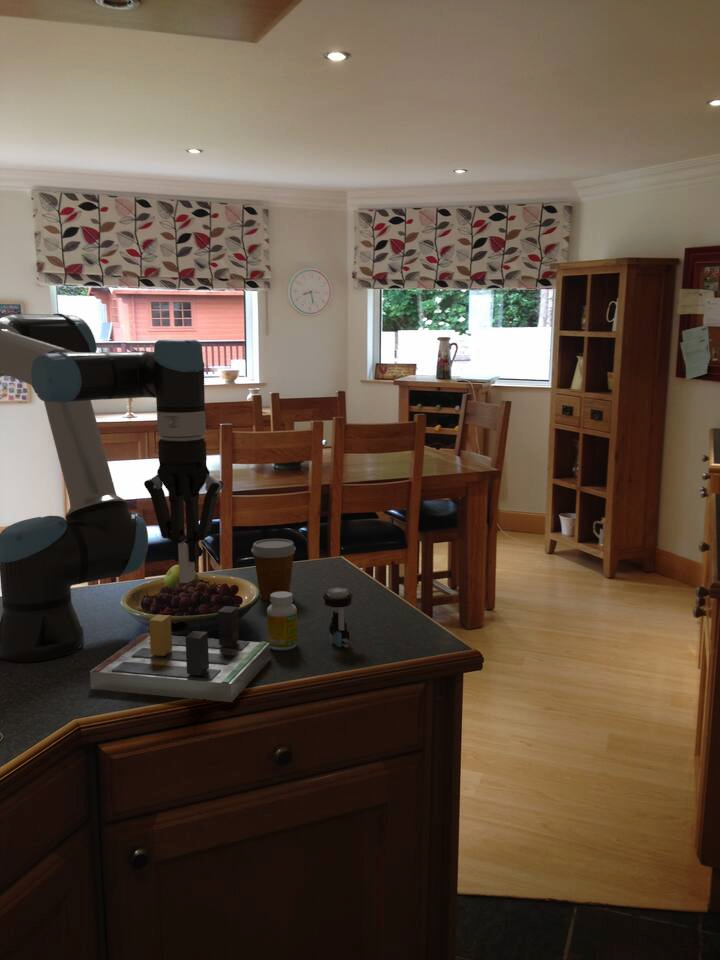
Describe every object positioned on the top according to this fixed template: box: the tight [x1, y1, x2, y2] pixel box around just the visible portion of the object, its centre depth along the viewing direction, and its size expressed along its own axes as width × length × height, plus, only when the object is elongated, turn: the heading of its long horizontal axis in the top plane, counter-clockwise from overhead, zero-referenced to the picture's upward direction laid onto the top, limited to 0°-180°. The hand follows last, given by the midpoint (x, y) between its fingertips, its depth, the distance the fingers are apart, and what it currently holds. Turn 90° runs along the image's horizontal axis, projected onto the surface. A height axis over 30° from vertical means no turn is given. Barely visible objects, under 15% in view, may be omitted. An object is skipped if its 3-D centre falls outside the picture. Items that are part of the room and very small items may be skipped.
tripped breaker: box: [148, 614, 173, 656], centre depth 141 cm, size 2×3×6 cm
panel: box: [89, 605, 271, 703], centre depth 140 cm, size 24×18×10 cm
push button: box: [322, 587, 354, 648], centre depth 154 cm, size 7×5×10 cm
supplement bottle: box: [266, 591, 298, 651], centre depth 153 cm, size 5×5×10 cm
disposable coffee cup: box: [250, 538, 297, 602], centre depth 182 cm, size 10×10×12 cm
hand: (187, 580), depth 138 cm, fingers closed
